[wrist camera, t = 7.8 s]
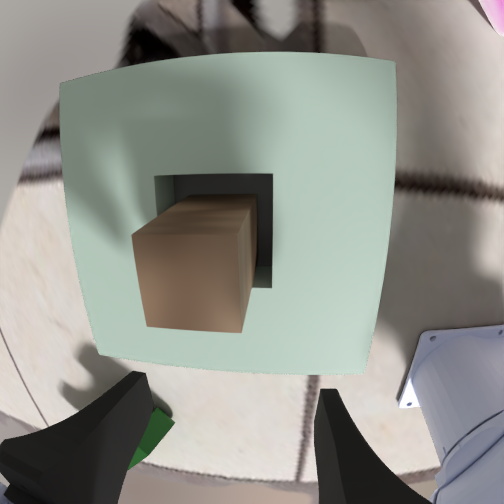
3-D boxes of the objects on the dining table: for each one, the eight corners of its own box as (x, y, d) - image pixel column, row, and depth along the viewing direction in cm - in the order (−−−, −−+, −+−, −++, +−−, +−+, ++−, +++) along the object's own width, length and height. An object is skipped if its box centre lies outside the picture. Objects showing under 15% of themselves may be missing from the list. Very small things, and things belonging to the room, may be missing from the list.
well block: (376, 73, 16) (395, 61, 13) (355, 342, 22) (364, 373, 19) (90, 87, 18) (59, 83, 14) (118, 328, 24) (98, 354, 20)
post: (256, 193, 19) (237, 234, 11) (258, 258, 20) (241, 333, 13) (189, 194, 19) (131, 234, 12) (194, 257, 20) (146, 326, 13)
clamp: (142, 366, 31) (104, 391, 22) (185, 406, 30) (160, 444, 21) (85, 429, 30) (44, 459, 21) (123, 464, 29) (90, 504, 20)
